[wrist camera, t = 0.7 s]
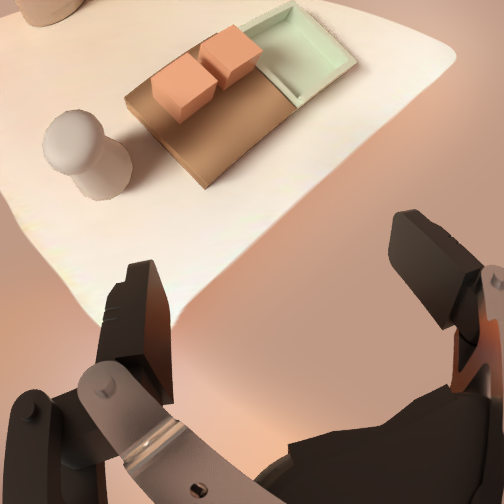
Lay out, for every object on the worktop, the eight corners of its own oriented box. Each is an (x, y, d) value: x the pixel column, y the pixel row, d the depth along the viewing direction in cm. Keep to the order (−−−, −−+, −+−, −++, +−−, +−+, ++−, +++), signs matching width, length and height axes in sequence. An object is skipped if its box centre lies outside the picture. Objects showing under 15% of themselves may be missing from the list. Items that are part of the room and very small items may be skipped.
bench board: (127, 109, 29) (124, 97, 26) (213, 46, 30) (217, 32, 27) (204, 189, 31) (207, 184, 28) (286, 118, 33) (296, 108, 30)
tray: (222, 50, 31) (227, 33, 27) (283, 15, 32) (292, 0, 29) (289, 116, 33) (301, 104, 29) (343, 73, 34) (357, 62, 31)
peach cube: (196, 65, 27) (200, 43, 23) (226, 45, 28) (233, 24, 24) (223, 90, 28) (230, 71, 24) (252, 70, 28) (263, 50, 25)
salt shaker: (70, 174, 28) (14, 139, 15) (112, 135, 28) (79, 78, 16) (104, 215, 29) (59, 202, 16) (147, 176, 30) (129, 135, 17)
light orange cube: (153, 97, 26) (150, 78, 22) (185, 73, 27) (187, 52, 23) (180, 124, 27) (181, 108, 23) (212, 99, 28) (217, 80, 24)
